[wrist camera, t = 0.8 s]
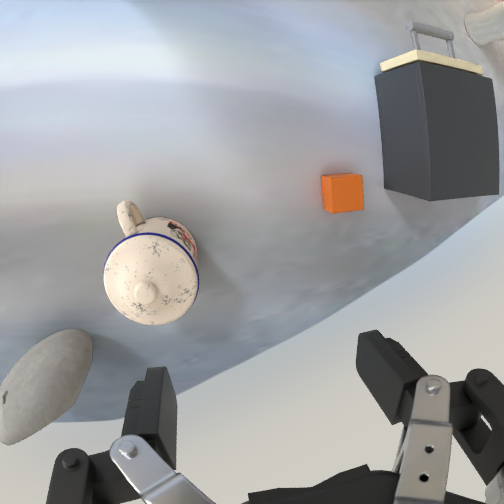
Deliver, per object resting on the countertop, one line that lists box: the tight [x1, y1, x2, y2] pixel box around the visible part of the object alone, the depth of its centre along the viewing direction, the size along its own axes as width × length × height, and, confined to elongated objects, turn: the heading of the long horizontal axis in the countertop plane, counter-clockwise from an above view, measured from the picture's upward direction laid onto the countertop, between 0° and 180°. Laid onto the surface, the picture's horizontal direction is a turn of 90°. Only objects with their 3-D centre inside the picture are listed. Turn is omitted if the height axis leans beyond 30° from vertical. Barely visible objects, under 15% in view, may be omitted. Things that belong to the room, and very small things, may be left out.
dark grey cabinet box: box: [375, 62, 499, 201], centre depth 32 cm, size 15×13×10 cm
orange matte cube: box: [321, 173, 364, 213], centre depth 36 cm, size 4×4×3 cm
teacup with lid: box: [104, 200, 199, 325], centre depth 31 cm, size 12×9×12 cm
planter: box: [0, 329, 93, 445], centre depth 29 cm, size 18×7×19 cm, turn 122°
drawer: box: [380, 21, 483, 75], centre depth 31 cm, size 18×11×8 cm, turn 7°
